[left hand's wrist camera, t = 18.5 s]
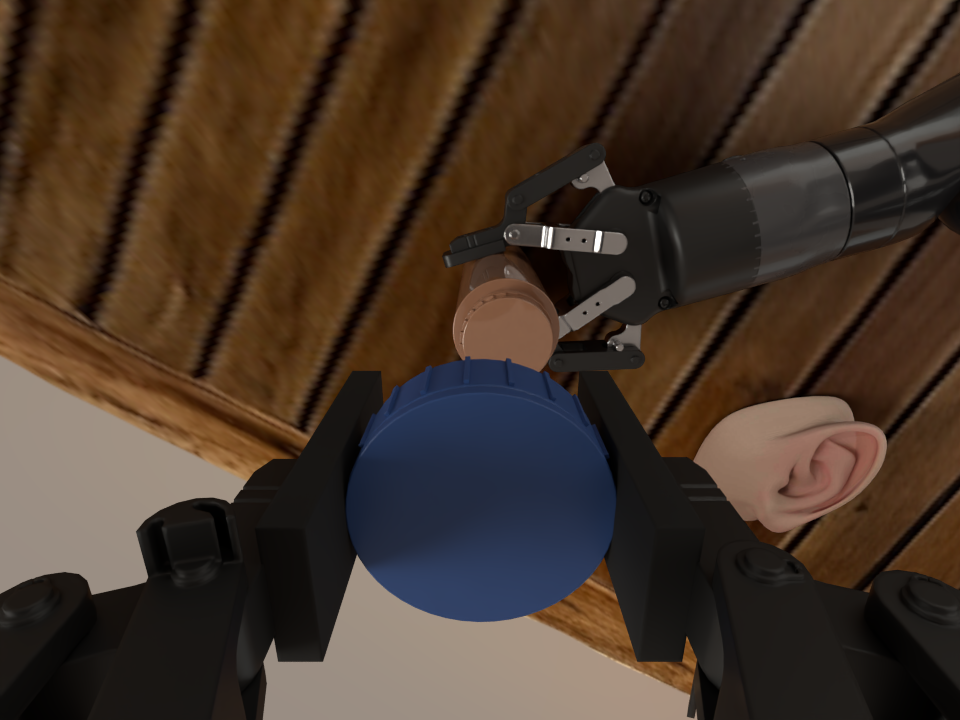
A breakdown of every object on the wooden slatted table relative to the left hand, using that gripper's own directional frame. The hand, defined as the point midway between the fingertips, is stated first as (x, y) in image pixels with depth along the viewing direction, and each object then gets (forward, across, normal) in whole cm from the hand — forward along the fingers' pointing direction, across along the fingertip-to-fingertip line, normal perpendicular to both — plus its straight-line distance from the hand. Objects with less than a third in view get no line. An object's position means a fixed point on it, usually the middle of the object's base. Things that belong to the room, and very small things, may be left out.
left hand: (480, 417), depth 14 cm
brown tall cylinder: (+25, +1, -1) cm, 25 cm away
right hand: (+19, -1, -2) cm, 19 cm away
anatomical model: (+25, +24, -16) cm, 38 cm away
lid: (-4, 0, 0) cm, 4 cm away
